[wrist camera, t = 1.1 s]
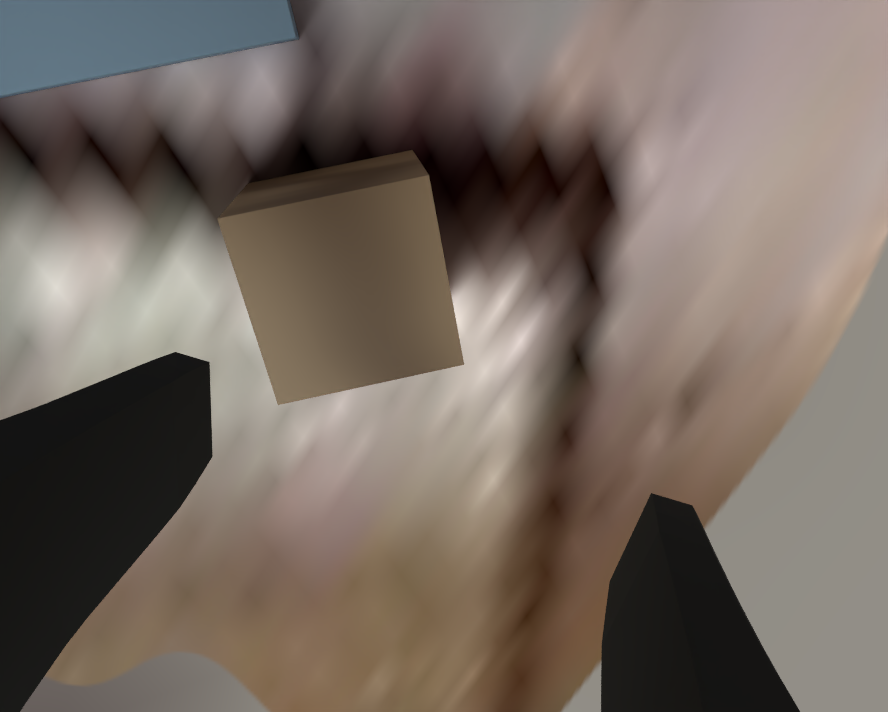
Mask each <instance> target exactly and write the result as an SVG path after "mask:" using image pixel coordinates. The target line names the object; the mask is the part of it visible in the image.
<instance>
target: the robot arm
mask: <svg viewBox="0 0 888 712" xmlns="http://www.w3.org/2000/svg"><path fill="white" fill-rule="evenodd" d="M211 458H212V428H211V397H210V365H209V362H207V361H204V360H200V359H197V358H193V357H190V356H187V355H183V354H180V353H177V352H174V353H172V354H169V355H166V356H163V357H160V358H157V359H155V360H152V361H150V362H147V363H145V364H142V365H140V366H137V367H135V368H132V369H130V370H127V371H125V372H122V373H120V374H118V375H115V376H113V377H110V378H108V379H105V380H103V381H101V382H98V383H96V384H93V385H91V386H88V387H86V388H83V389H81V390H78V391H76V392H73V393H71V394H68V395H66V396H64V397H61V398H59V399H56V400H54V401H51V402H49V403H46V404H44V405H41V406H38V407H36V408H33V409H30V410H28V411H25V412H22V413H19V414H17V415H14V416H11V417H8V418H6V419H3V420H0V712H20V711H21V709H22V707H23V706H24V705H25V703H26V702H27V700H28V699H29V697H30V696H31V695H32V693H33V692H34V690H35V689H36V687H37V686H38V684H39V683H40V682H41V680H42V679H43V677H44V676H45V674H46V673H47V672H48V670H49V669H50V667H51V666H52V664H53V663H54V661H55V660H56V659H57V657H58V656H59V654H60V653H61V651H62V650H63V649H64V647H65V646H66V644H67V643H68V642H69V640H70V639H71V638H72V637H73V635H74V634H75V633H76V631H77V630H78V629H79V628H80V626H81V625H82V624H83V623H84V621H85V620H86V619H87V617H88V616H89V615H90V614H91V613H92V612H93V610H94V609H95V608H96V607H97V606H98V604H99V603H100V602H101V601H102V600H103V599H104V597H105V596H106V595H107V594H108V593H109V591H110V590H111V589H112V588H113V587H114V586H115V584H116V583H117V582H118V581H119V580H120V579H121V577H122V576H123V575H124V574H125V573H126V571H127V570H128V569H129V568H130V567H131V566H132V564H133V563H134V562H135V561H136V560H137V558H138V557H139V556H140V555H141V554H142V553H143V551H144V550H145V549H146V548H147V547H148V545H149V544H150V543H151V542H152V541H153V539H154V538H155V537H156V536H157V535H158V533H159V532H160V531H161V530H162V529H163V527H164V526H165V525H166V524H167V523H168V521H169V520H170V519H171V518H172V517H173V515H174V514H175V513H176V512H177V510H178V509H179V508H180V507H181V505H182V504H183V502H184V501H185V499H186V498H187V496H188V494H189V493H190V491H191V490H192V488H193V487H194V485H195V484H196V482H197V481H198V479H199V477H200V476H201V474H202V473H203V471H204V469H205V468H206V466H207V464H208V463H209V461H210V460H211ZM601 677H602V678H601V712H800V711H799V709H798V707H797V706H796V704H795V702H794V701H793V699H792V697H791V696H790V694H789V692H788V690H787V689H786V687H785V685H784V684H783V682H782V680H781V679H780V677H779V675H778V673H777V672H776V670H775V668H774V666H773V664H772V663H771V661H770V659H769V657H768V656H767V654H766V652H765V650H764V648H763V646H762V645H761V643H760V641H759V639H758V637H757V635H756V633H755V631H754V629H753V627H752V626H751V624H750V622H749V620H748V618H747V616H746V615H745V612H744V610H743V609H742V607H741V605H740V603H739V601H738V599H737V597H736V595H735V593H734V591H733V589H732V587H731V585H730V583H729V581H728V579H727V577H726V574H725V572H724V570H723V568H722V566H721V564H720V562H719V560H718V558H717V556H716V554H715V552H714V550H713V547H712V545H711V543H710V541H709V539H708V537H707V535H706V532H705V530H704V528H703V526H702V524H701V522H700V520H699V518H698V515H697V513H696V512H695V510H694V508H693V506H692V505H689V504H686V503H682V502H679V501H675V500H672V499H669V498H665V497H662V496H659V495H655V494H652V493H651V495H650V497H649V499H648V501H647V503H646V506H645V508H644V510H643V512H642V514H641V516H640V518H639V520H638V523H637V525H636V527H635V529H634V531H633V533H632V535H631V537H630V540H629V542H628V544H627V546H626V548H625V550H624V552H623V554H622V557H621V559H620V561H619V563H618V565H617V567H616V569H615V571H614V574H613V576H612V578H611V580H610V584H609V591H608V599H607V606H606V614H605V622H604V631H603V639H602V670H601Z"/></svg>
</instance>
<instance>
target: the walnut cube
mask: <svg viewBox="0 0 888 712" xmlns="http://www.w3.org/2000/svg"><path fill="white" fill-rule="evenodd" d="M218 222H219V225H220V228H221V231H222V234H223V237H224V240H225V243H226V246H227V250H228V253H229V256H230V259H231V262H232V265H233V268H234V271H235V274H236V277H237V280H238V283H239V286H240V289H241V293H242V296H243V299H244V302H245V305H246V308H247V311H248V314H249V317H250V320H251V323H252V326H253V329H254V332H255V335H256V339H257V342H258V345H259V348H260V351H261V354H262V357H263V360H264V363H265V366H266V369H267V372H268V375H269V378H270V381H271V385H272V388H273V391H274V394H275V397H276V400H277V403H278V405H280V404H285V403H289V402H294V401H299V400H303V399H308V398H312V397H317V396H322V395H326V394H331V393H335V392H340V391H345V390H349V389H354V388H358V387H363V386H368V385H372V384H377V383H381V382H386V381H391V380H395V379H400V378H404V377H409V376H414V375H418V374H423V373H427V372H432V371H437V370H441V369H446V368H450V367H455V366H460V365H464V362H463V356H462V351H461V345H460V340H459V335H458V329H457V324H456V318H455V313H454V308H453V302H452V297H451V291H450V286H449V281H448V275H447V270H446V265H445V259H444V254H443V248H442V243H441V238H440V232H439V227H438V221H437V216H436V211H435V205H434V200H433V195H432V189H431V184H430V178H429V175H428V173H427V171H426V170H425V168H424V167H423V165H422V164H421V162H420V161H419V159H418V158H417V156H416V155H415V153H414V152H413V150H409V151H404V152H399V153H395V154H390V155H385V156H380V157H375V158H370V159H365V160H360V161H355V162H350V163H346V164H341V165H336V166H331V167H326V168H321V169H316V170H311V171H306V172H302V173H297V174H292V175H287V176H282V177H277V178H272V179H267V180H262V181H257V182H253V183H248V184H247V185H246V186H245V188H244V189H243V190H242V191H241V192H240V193H239V195H238V196H237V197H236V198H235V199H234V200H233V201H232V203H231V204H230V205H229V206H228V207H227V208H226V209H225V211H224V212H223V213H222V214H221V215H220V216H219V217H218Z"/></svg>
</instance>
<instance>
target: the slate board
mask: <svg viewBox="0 0 888 712" xmlns="http://www.w3.org/2000/svg"><path fill="white" fill-rule="evenodd" d="M298 39H299V36H298V32H297V28H296V24H295V20H294V16H293V11H292V7H291V3H290V0H0V98H3V97H8V96H13V95H18V94H23V93H28V92H33V91H38V90H43V89H48V88H53V87H59V86H64V85H69V84H74V83H79V82H84V81H89V80H94V79H99V78H104V77H109V76H115V75H120V74H125V73H130V72H135V71H140V70H145V69H150V68H155V67H160V66H165V65H170V64H176V63H181V62H186V61H191V60H196V59H201V58H206V57H211V56H216V55H221V54H226V53H232V52H237V51H242V50H247V49H252V48H257V47H262V46H267V45H272V44H277V43H282V42H288V41H293V40H298Z"/></svg>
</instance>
